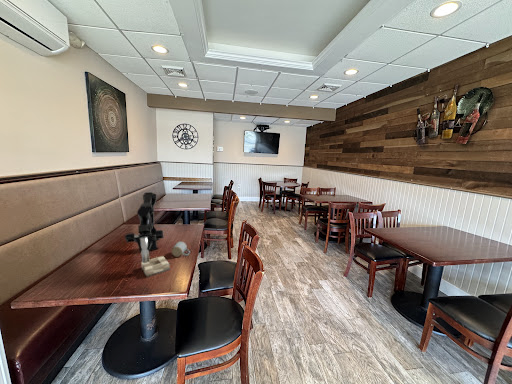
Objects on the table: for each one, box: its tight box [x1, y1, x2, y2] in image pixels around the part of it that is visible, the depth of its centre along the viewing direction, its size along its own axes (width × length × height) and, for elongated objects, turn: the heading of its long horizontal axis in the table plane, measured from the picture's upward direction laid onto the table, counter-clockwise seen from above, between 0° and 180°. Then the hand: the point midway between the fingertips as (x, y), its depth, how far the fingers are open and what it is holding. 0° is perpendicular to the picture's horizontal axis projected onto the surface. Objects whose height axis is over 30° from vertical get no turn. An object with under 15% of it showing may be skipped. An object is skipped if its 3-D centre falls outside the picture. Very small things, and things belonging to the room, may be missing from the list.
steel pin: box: [140, 236, 150, 263], centre depth 115 cm, size 4×4×14 cm
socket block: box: [140, 255, 171, 278], centre depth 120 cm, size 12×12×4 cm
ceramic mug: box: [171, 241, 191, 258], centre depth 138 cm, size 11×8×8 cm
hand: (144, 250), depth 114 cm, fingers closed on steel pin, 4 cm apart
